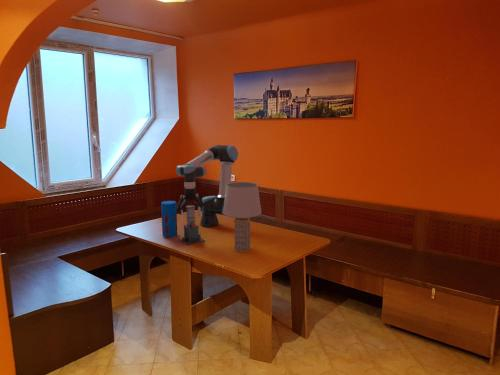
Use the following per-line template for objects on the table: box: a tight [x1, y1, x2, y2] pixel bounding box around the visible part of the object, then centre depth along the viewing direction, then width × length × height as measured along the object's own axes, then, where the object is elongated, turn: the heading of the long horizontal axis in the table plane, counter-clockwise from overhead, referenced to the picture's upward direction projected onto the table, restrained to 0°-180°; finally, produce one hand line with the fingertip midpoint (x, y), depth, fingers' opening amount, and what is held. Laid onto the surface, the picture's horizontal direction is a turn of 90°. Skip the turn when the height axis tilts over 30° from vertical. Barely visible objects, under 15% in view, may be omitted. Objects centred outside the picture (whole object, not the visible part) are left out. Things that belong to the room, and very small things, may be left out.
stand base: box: [177, 223, 206, 246], centre depth 275 cm, size 14×14×13 cm
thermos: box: [160, 200, 178, 239], centre depth 286 cm, size 11×11×25 cm
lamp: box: [222, 181, 262, 253], centre depth 254 cm, size 25×25×44 cm
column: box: [185, 204, 196, 227], centre depth 274 cm, size 5×5×23 cm
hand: (190, 217), depth 273 cm, fingers open, 13 cm apart
